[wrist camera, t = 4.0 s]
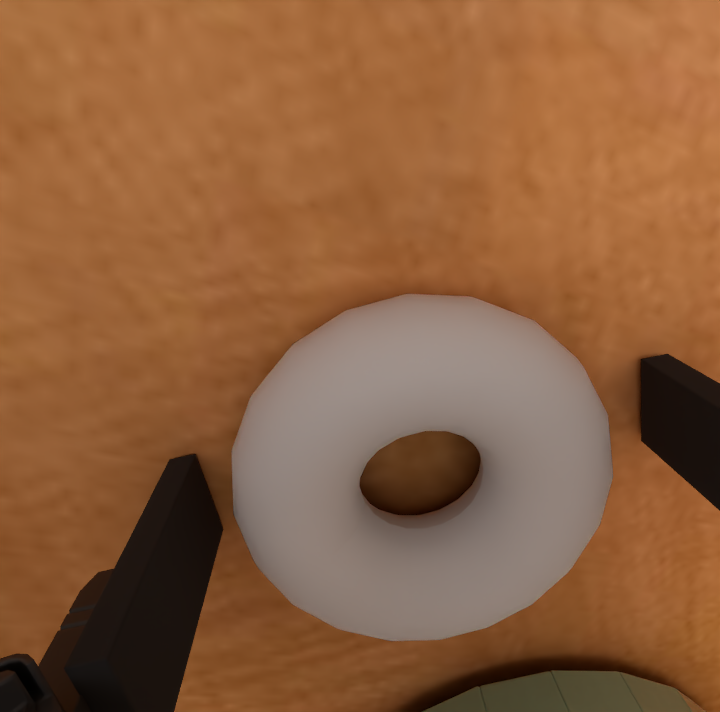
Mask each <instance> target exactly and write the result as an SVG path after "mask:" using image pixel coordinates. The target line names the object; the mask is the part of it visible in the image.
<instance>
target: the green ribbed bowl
mask: <svg viewBox="0 0 720 712" xmlns="http://www.w3.org/2000/svg"><path fill="white" fill-rule="evenodd" d="M422 712H706V711H705V710H704V709H702V708H701V707H700V706H698V705H697V704H696V703H694V702H693V701H692V700H691V699H689V698H688V697H687V696H685V695H684V694H683V693H681V692H680V691H679V690H677V689H675V688H674V687H671V686H668V685H664V684H661V683H657V682H654V681H651V680H647V679H644V678H640V677H637V676H633V675H630V674H627V673H623V672H618V671H571V670H552V671H546V672H542V673H537V674H532V675H528V676H523V677H519V678H514V679H509V680H505V681H500V682H495V683H491V684H486V685H481V686H480V687H479V686H477V687H475V688H472V689H470V690H468V691H466V692H464V693H461V694H459V695H457V696H455V697H453V698H451V699H448V700H446V701H444V702H442V703H440V704H437V705H435V706H433V707H431V708H429V709H427V710H424V711H422Z"/></svg>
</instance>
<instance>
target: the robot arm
mask: <svg viewBox="0 0 720 712" xmlns="http://www.w3.org/2000/svg"><path fill="white" fill-rule="evenodd" d="M641 441H642V442H643V443H644V444H646V445H647V446H648V447H649V448H650V449H651V450H652V451H653V452H655V453H656V454H657V455H658V456H659V457H660V458H661V459H662V460H664V461H665V462H666V463H667V464H668V465H669V466H670V467H671V468H673V469H674V470H675V471H676V472H677V473H678V474H679V475H680V476H682V477H683V478H684V479H685V480H686V481H687V482H688V483H689V484H691V485H692V486H693V487H694V488H695V489H696V490H697V491H698V492H700V493H701V494H702V495H703V496H704V497H705V498H706V499H707V500H709V501H710V502H711V503H712V504H713V505H714V506H715V507H716V508H718V509H719V510H720V384H719V383H718V382H716V381H714V380H712V379H711V378H709V377H707V376H705V375H704V374H702V373H700V372H698V371H697V370H695V369H693V368H691V367H690V366H688V365H686V364H684V363H683V362H681V361H679V360H677V359H676V358H674V357H672V356H670V355H669V354H664V355H660V356H655V357H650V358H645V359H641ZM222 531H223V527H222V524H221V522H220V519H219V516H218V514H217V511H216V508H215V506H214V503H213V500H212V497H211V495H210V492H209V489H208V487H207V484H206V481H205V479H204V476H203V473H202V471H201V468H200V465H199V462H198V460H197V457H196V454H193V455H188V456H183V457H179V458H174V459H170V460H169V462H168V464H167V466H166V468H165V470H164V472H163V474H162V476H161V478H160V480H159V482H158V483H157V485H156V487H155V489H154V491H153V493H152V495H151V497H150V499H149V501H148V503H147V505H146V507H145V509H144V511H143V513H142V515H141V517H140V519H139V521H138V523H137V525H136V527H135V529H134V531H133V533H132V535H131V537H130V539H129V541H128V543H127V545H126V547H125V548H124V550H123V552H122V554H121V556H120V558H119V560H118V562H117V564H116V566H115V568H114V569H111V570H106V571H102V572H98V573H97V574H96V575H95V576H94V577H93V578H92V579H91V580H90V581H89V582H88V583H87V584H86V586H85V587H84V588H83V589H82V590H81V591H80V592H79V594H78V596H77V598H76V600H75V601H74V603H73V605H72V607H71V609H70V610H69V611H70V613H69V614H67V616H66V617H65V619H64V621H63V623H62V625H61V626H60V627H61V630H60V631H58V632H57V634H56V635H55V637H54V639H53V641H52V642H51V644H50V646H49V648H48V650H47V651H46V653H45V655H44V657H43V659H42V660H41V662H40V664H39V666H37V664H36V662H35V661H34V660H33V659H32V658H31V657H30V656H29V655H28V654H14V655H10V656H7V657H4V658H1V659H0V712H174V710H175V706H176V702H177V699H178V695H179V691H180V687H181V684H182V680H183V676H184V673H185V669H186V665H187V661H188V658H189V654H190V650H191V646H192V643H193V639H194V635H195V632H196V628H197V624H198V620H199V617H200V613H201V609H202V606H203V602H204V598H205V594H206V591H207V587H208V583H209V580H210V576H211V572H212V568H213V565H214V561H215V557H216V554H217V550H218V546H219V542H220V539H221V535H222Z"/></svg>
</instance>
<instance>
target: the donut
mask: <svg viewBox="0 0 720 712" xmlns="http://www.w3.org/2000/svg"><path fill="white" fill-rule="evenodd" d="M423 431H448V432H451V433H454V434H457V435H460V436H463V437H465V438H466V439H468V440H469V441H470V442H472V443H473V444H474V445H475V447H476V448H477V450H478V451H479V453H480V457H481V461H480V467H479V473H478V475H477V477H476V478H475V480H474V482H473V484H472V486H471V487H470V488H469V489H468V490H467V491H466V492H465V493H464V494H463V495H462V496H461V497H460V498H459V499H458V500H456V501H454V502H452V503H451V504H449V505H447V506H445V507H443V508H442V509H440V510H437V511H433V512H429V513H425V514H421V515H396V514H393V513H389V512H386V511H382V510H379V509H377V508H376V507H374V506H373V505H371V504H370V503H369V502H368V501H367V499H366V498H365V497H364V495H363V494H362V492H361V489H360V477H361V475H362V473H363V471H364V468H365V466H366V464H367V462H368V461H369V460H370V459H371V458H372V457H373V456H374V455H375V453H376V452H377V451H378V450H380V449H381V448H383V447H385V446H387V445H388V444H390V443H392V442H393V441H395V440H397V439H398V438H401V437H404V436H408V435H412V434H416V433H419V432H423ZM612 479H613V466H612V455H611V443H610V432H609V420H608V414H607V412H606V410H605V408H604V406H603V404H602V402H601V400H600V398H599V396H598V394H597V392H596V390H595V388H594V386H593V384H592V382H591V380H590V379H589V377H588V375H587V373H586V371H585V369H584V367H583V366H582V364H581V363H580V362H579V360H578V359H577V358H576V357H575V356H574V355H573V354H572V353H571V352H570V351H568V350H567V349H566V348H565V347H564V346H563V345H562V344H561V343H559V342H558V341H557V340H556V339H555V338H554V337H553V336H551V335H550V334H549V333H548V332H547V331H546V330H545V329H543V328H542V327H541V326H540V325H539V324H538V323H537V322H535V321H534V320H532V319H529V318H526V317H524V316H521V315H519V314H516V313H513V312H511V311H508V310H506V309H503V308H500V307H498V306H495V305H492V304H490V303H487V302H485V301H482V300H479V299H477V298H474V297H471V296H453V295H428V294H404V295H400V296H397V297H393V298H389V299H386V300H382V301H378V302H375V303H371V304H367V305H364V306H360V307H356V308H352V309H349V310H345V311H344V312H342V313H341V314H339V315H337V316H336V317H334V318H333V319H331V320H330V321H328V322H327V323H325V324H323V325H322V326H320V327H319V328H317V329H316V330H314V331H312V332H311V333H309V334H308V335H306V336H305V337H303V338H302V339H300V340H298V341H297V342H295V343H294V344H292V346H291V347H290V348H289V349H288V351H287V352H286V353H285V354H284V355H283V357H282V358H281V359H280V360H279V362H278V363H277V364H276V365H275V367H274V368H273V369H272V370H271V371H270V373H269V374H268V375H267V376H266V378H265V379H264V380H263V381H262V383H261V384H260V385H259V386H258V387H257V389H256V390H255V391H254V393H253V394H252V396H251V397H250V400H249V402H248V405H247V408H246V411H245V414H244V417H243V419H242V422H241V425H240V428H239V431H238V434H237V437H236V439H235V442H234V445H233V448H232V482H233V514H234V517H235V519H236V521H237V524H238V526H239V528H240V530H241V533H242V535H243V537H244V540H245V542H246V544H247V547H248V549H249V551H250V554H251V556H252V558H253V560H254V562H255V564H256V565H257V567H258V568H259V570H260V571H261V572H262V573H263V574H264V575H265V576H266V577H267V578H268V579H269V580H270V581H271V582H272V583H273V584H274V586H275V587H276V588H277V589H278V590H279V591H280V592H281V593H282V594H283V595H284V596H285V597H286V598H287V599H288V600H289V601H290V602H291V603H292V604H293V605H294V606H296V607H298V608H300V609H302V610H303V611H305V612H307V613H309V614H311V615H313V616H315V617H316V618H318V619H320V620H322V621H324V622H326V623H328V624H329V625H331V626H333V627H335V628H337V629H340V630H343V631H348V632H352V633H357V634H361V635H365V636H370V637H374V638H379V639H383V640H388V641H417V640H441V639H445V638H449V637H453V636H457V635H461V634H465V633H469V632H472V631H476V630H480V629H484V628H488V627H490V626H492V625H494V624H495V623H497V622H499V621H501V620H503V619H505V618H507V617H509V616H511V615H513V614H515V613H517V612H518V611H520V610H522V609H524V608H526V607H528V606H530V605H532V604H533V603H534V602H535V601H536V600H537V599H539V598H540V597H541V596H542V595H543V594H544V593H545V592H546V591H548V590H549V589H550V588H551V587H552V586H553V585H554V584H556V583H557V582H558V581H559V580H560V579H561V578H562V577H563V576H565V575H566V574H567V573H568V572H569V571H570V569H571V568H572V567H573V565H574V564H575V562H576V561H577V559H578V558H579V556H580V555H581V553H582V552H583V550H584V548H585V547H586V545H587V544H588V542H589V541H590V539H591V538H592V536H593V535H594V533H595V532H596V530H597V529H598V527H599V525H600V523H601V519H602V516H603V512H604V508H605V505H606V501H607V497H608V494H609V490H610V486H611V483H612Z"/></svg>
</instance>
